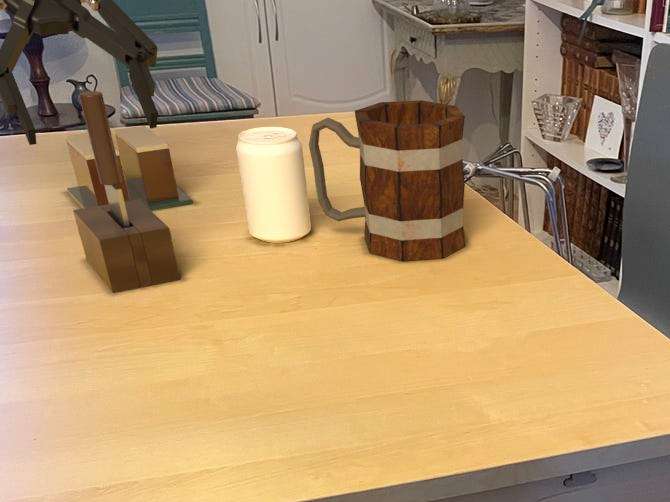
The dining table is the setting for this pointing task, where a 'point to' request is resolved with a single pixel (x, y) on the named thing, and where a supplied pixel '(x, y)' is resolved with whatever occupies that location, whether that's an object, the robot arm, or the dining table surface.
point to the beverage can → (273, 184)
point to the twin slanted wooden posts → (128, 170)
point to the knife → (104, 153)
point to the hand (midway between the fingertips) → (94, 129)
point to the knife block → (127, 247)
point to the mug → (404, 178)
